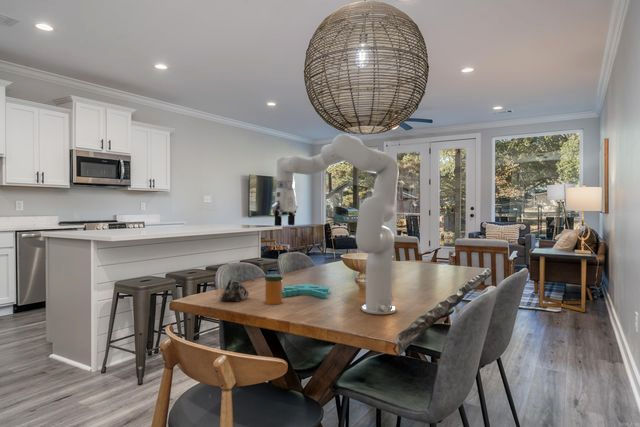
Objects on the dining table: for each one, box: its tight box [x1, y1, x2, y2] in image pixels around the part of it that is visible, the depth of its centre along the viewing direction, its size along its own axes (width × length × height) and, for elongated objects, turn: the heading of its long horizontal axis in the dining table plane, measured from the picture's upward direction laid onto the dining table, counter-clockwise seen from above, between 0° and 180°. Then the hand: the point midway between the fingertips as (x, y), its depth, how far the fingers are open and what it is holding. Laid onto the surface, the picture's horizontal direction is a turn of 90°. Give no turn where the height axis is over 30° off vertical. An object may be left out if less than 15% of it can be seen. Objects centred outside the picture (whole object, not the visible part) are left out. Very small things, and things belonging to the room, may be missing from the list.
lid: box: [264, 273, 284, 281], centre depth 165 cm, size 7×7×2 cm
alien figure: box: [282, 283, 330, 299], centre depth 184 cm, size 20×2×20 cm
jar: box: [264, 279, 283, 305], centre depth 165 cm, size 7×7×10 cm
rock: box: [219, 278, 250, 302], centre depth 169 cm, size 13×10×10 cm
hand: (284, 225), depth 178 cm, fingers open, 9 cm apart
